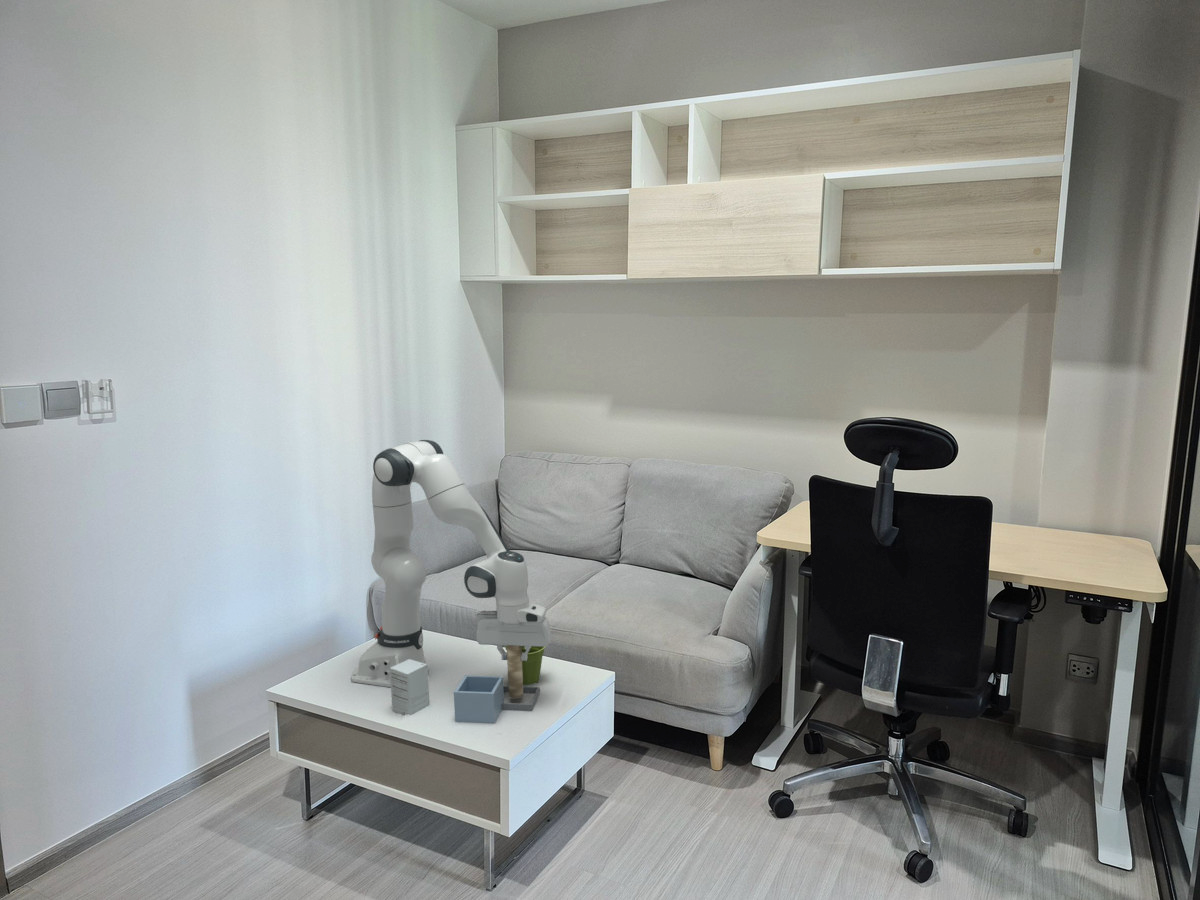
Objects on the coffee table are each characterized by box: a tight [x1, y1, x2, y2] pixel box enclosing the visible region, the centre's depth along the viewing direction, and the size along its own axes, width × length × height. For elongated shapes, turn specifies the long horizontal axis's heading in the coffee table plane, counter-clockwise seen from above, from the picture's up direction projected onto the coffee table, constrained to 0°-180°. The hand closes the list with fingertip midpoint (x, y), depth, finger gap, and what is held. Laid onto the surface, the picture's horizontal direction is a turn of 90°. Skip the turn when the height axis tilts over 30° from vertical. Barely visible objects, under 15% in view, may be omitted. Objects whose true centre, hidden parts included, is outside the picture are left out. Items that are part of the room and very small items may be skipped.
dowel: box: [506, 645, 524, 700], centre depth 229 cm, size 4×4×15 cm
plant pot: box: [504, 645, 546, 686], centre depth 244 cm, size 12×12×11 cm
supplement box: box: [390, 659, 430, 716], centre depth 228 cm, size 7×7×13 cm
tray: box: [501, 685, 541, 712], centre depth 231 cm, size 11×11×2 cm
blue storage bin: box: [453, 674, 505, 725], centre depth 223 cm, size 11×11×9 cm
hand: (514, 659), depth 229 cm, fingers closed on dowel, 4 cm apart
